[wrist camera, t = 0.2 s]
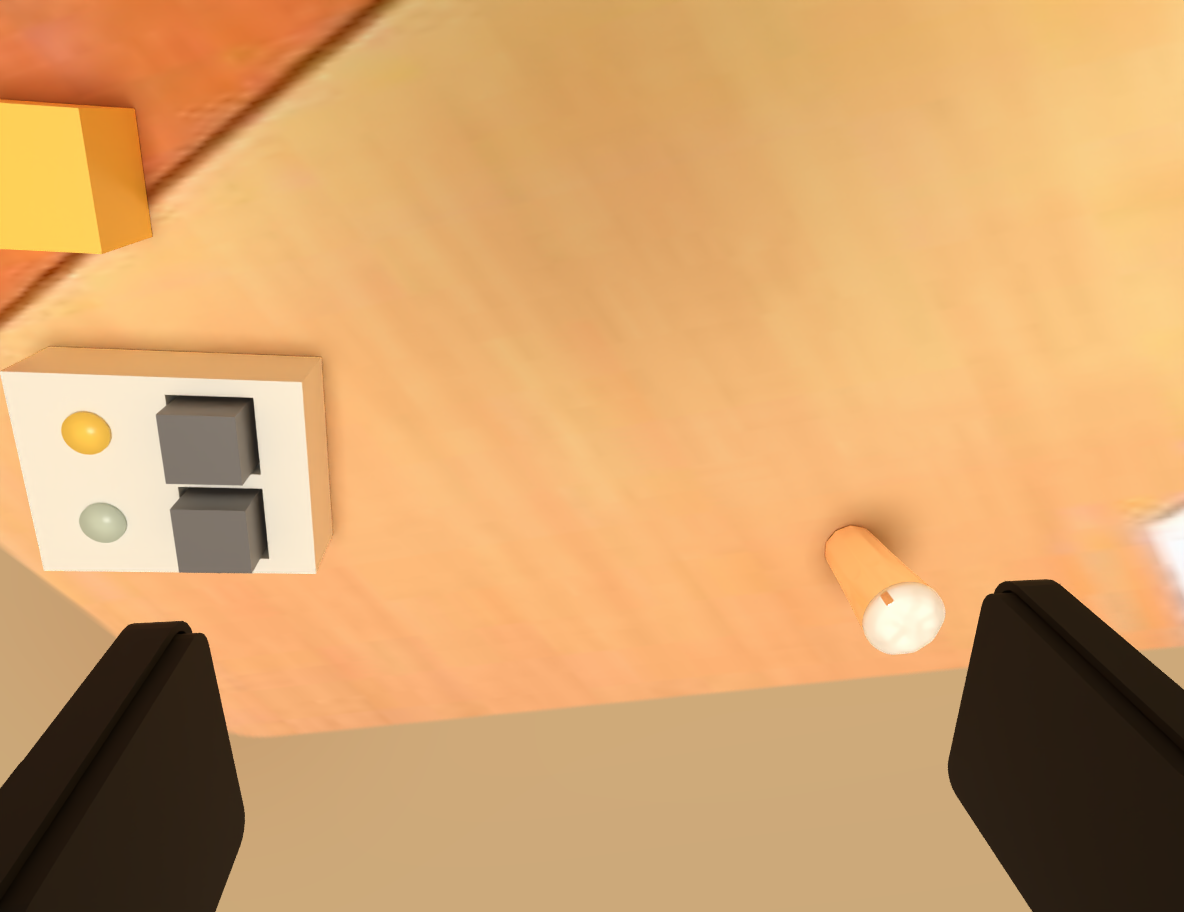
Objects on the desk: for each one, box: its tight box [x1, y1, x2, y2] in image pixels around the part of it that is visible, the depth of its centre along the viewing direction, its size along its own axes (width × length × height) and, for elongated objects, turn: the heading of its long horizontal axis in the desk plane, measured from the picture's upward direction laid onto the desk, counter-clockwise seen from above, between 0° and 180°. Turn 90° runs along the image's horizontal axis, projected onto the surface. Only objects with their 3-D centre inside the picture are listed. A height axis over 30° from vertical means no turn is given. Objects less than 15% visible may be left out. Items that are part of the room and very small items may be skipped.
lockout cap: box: [0, 99, 152, 254], centre depth 37 cm, size 6×6×6 cm
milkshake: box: [825, 525, 945, 655], centre depth 48 cm, size 4×5×10 cm
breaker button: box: [170, 487, 268, 573], centre depth 43 cm, size 4×4×4 cm
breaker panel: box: [0, 346, 333, 574], centre depth 44 cm, size 11×14×5 cm
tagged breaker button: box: [156, 395, 260, 486], centre depth 41 cm, size 4×4×4 cm
